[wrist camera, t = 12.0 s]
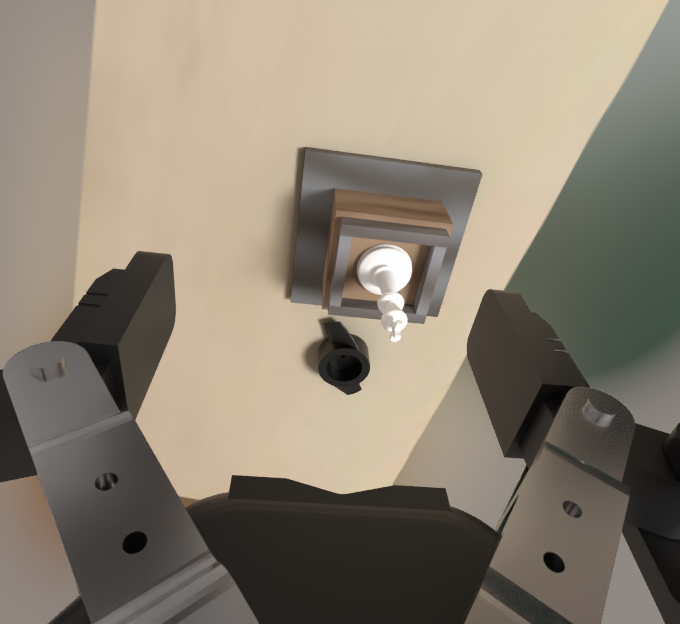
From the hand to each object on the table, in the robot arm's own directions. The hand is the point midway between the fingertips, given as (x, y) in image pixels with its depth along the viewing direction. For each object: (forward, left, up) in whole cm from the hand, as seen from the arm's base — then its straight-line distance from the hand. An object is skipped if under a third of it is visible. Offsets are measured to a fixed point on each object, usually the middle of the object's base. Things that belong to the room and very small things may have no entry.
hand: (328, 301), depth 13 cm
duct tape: (+29, +6, -34) cm, 45 cm away
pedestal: (+14, +7, -33) cm, 37 cm away
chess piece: (+14, +7, -27) cm, 31 cm away
